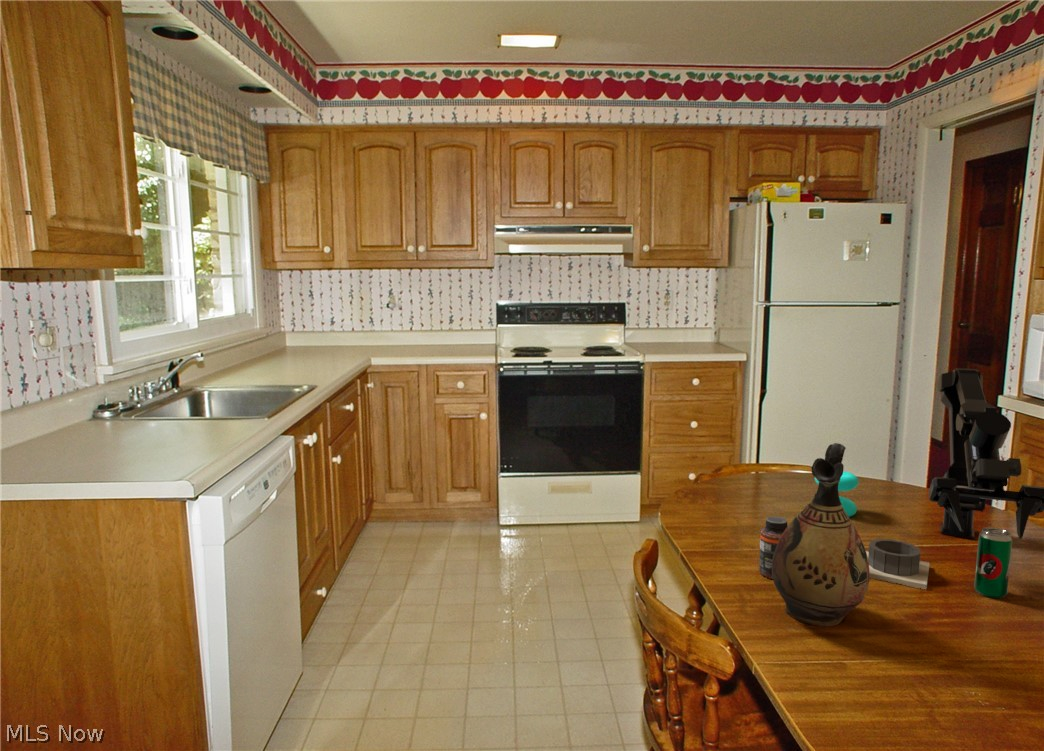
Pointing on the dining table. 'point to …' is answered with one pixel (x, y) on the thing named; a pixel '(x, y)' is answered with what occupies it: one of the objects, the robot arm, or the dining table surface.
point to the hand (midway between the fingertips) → (991, 534)
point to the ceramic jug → (822, 553)
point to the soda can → (993, 562)
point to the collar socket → (897, 563)
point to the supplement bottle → (770, 543)
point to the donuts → (845, 484)
